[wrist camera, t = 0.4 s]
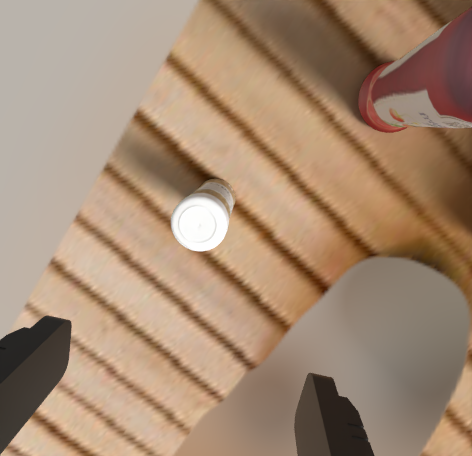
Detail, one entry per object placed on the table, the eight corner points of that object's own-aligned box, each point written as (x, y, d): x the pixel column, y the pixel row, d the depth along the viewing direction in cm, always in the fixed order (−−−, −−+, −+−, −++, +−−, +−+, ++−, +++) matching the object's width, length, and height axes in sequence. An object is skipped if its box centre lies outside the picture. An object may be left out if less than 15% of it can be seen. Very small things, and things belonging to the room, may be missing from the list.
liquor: (347, 131, 37) (599, 104, 10) (359, 58, 35) (707, -219, 8) (415, 138, 37) (861, 127, 10) (430, 64, 35) (1033, -200, 8)
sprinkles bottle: (189, 196, 40) (157, 223, 27) (216, 169, 39) (197, 183, 26) (216, 224, 40) (198, 264, 27) (244, 198, 39) (239, 226, 26)
